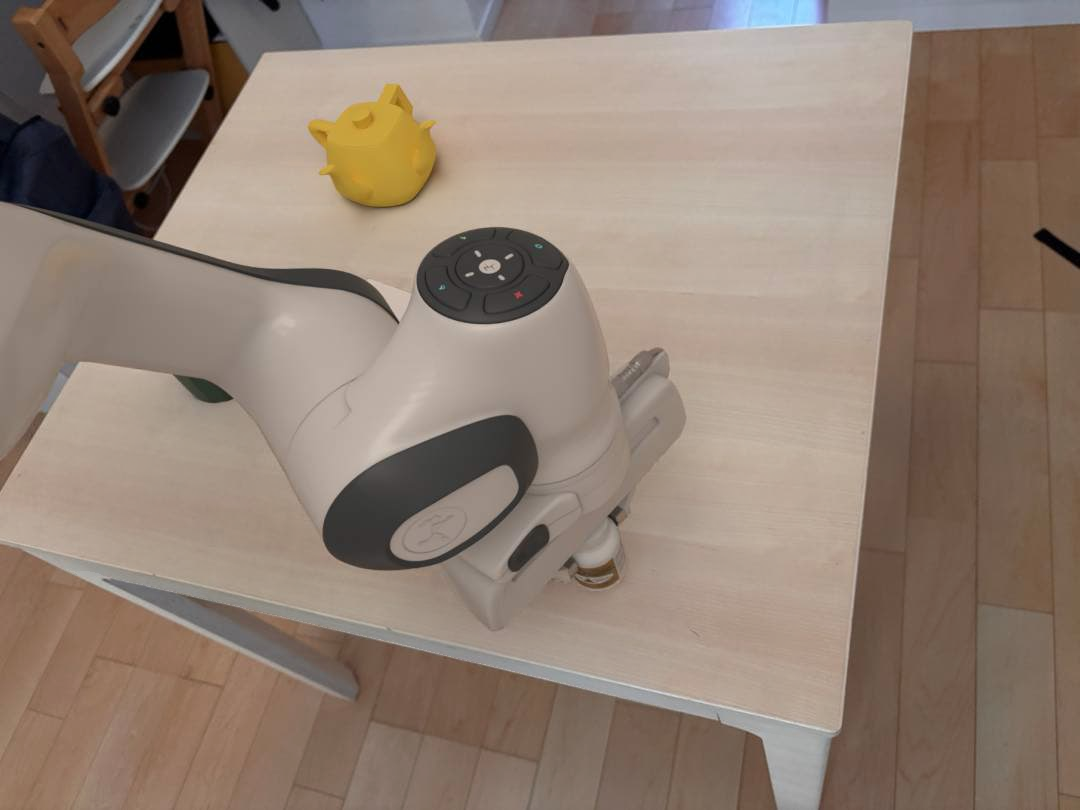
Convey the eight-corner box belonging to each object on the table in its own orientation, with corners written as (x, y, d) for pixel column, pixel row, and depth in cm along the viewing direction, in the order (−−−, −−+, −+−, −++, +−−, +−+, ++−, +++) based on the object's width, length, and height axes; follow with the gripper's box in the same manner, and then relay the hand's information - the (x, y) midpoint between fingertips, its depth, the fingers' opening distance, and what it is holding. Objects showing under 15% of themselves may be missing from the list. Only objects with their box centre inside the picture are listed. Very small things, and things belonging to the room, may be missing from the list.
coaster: (380, 354, 89) (377, 350, 88) (324, 331, 92) (321, 327, 92) (424, 298, 92) (422, 293, 91) (368, 278, 95) (365, 273, 95)
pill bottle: (567, 590, 67) (547, 547, 60) (576, 538, 69) (557, 491, 63) (624, 595, 65) (609, 552, 59) (630, 542, 68) (617, 495, 62)
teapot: (353, 238, 100) (317, 172, 92) (327, 172, 108) (291, 106, 100) (462, 188, 100) (435, 119, 92) (427, 127, 108) (400, 58, 100)
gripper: (625, 313, 57) (647, 426, 69) (403, 535, 51) (467, 620, 62) (701, 356, 54) (711, 467, 65) (474, 598, 48) (528, 676, 59)
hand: (590, 543), depth 64 cm, fingers closed on pill bottle, 4 cm apart
